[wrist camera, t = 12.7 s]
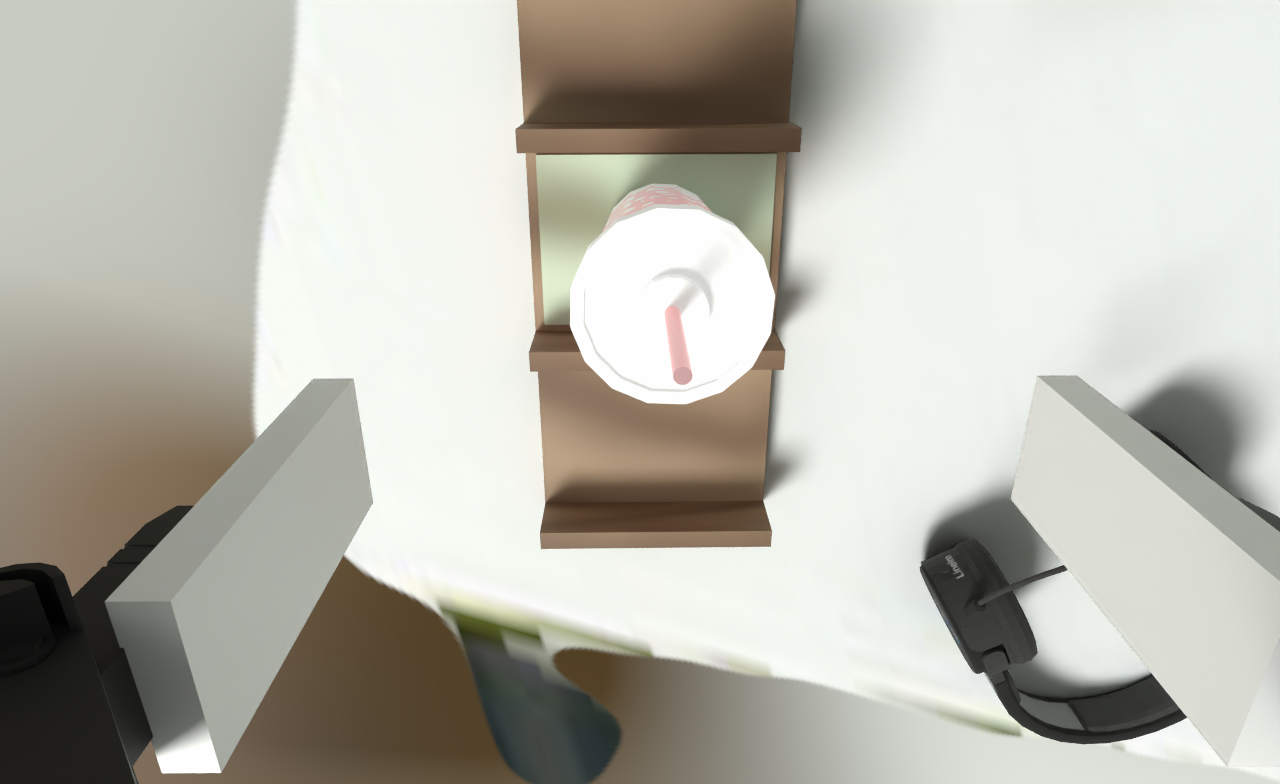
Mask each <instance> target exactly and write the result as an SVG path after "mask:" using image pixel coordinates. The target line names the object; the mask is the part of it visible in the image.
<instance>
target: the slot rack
mask: <svg viewBox="0 0 1280 784" xmlns="http://www.w3.org/2000/svg"><path fill="white" fill-rule="evenodd" d="M796 4H797V0H517V8H518V26H519V43H520V61H521V79H522V96H523V114H524V123H523V124H522V125H521V126H519V127H518V128H517V129H516V146H517V153H526V167H527V185H528V202H529V220H530V238H531V255H532V273H533V291H534V308H535V326H536V332H535V335H534V339H533V342H532V345H531V348H530V351H529V360H530V371H538V379H539V396H540V414H541V432H542V449H543V467H544V485H545V502H546V503H545V508H544V514H543V520H542V525H541V531H540V540H541V549H569V548H672V547H771V536H772V530H771V526H770V523H769V519H768V516H767V513H766V509H765V506H764V503H763V493H764V479H765V464H766V449H767V434H768V419H769V404H770V390H771V375H772V370H784V360H785V349H784V347H783V345H782V343H781V341H780V340H779V338H778V336H777V334H776V332H775V316H776V301H777V286H778V271H779V256H780V242H781V227H782V212H783V197H784V182H785V167H786V153H787V152H800V144H801V130H802V128H800V127H798V126H796V125H794V124H792V123H790V122H789V108H790V93H791V79H792V64H793V49H794V34H795V19H796ZM650 184H672V185H677V186H679V187H681V188H683V189H685V190H688V191H690V192H692V193H694V194H696V195H697V196H698V197H699V198H700V200H701V201H702V202H703V203H704V204H705V205H706V206H707V207H708V208H709V209H710V210H711V212H712V213H714V214H716V215H718V216H720V217H722V218H724V219H726V220H729V221H731V222H733V223H734V224H735V225H736V226H737V227H738V229H739V230H740V231H741V232H742V233H743V234H744V235H745V237H746V238H747V239H748V240H749V241H750V242H751V243H752V245H753V246H754V247H755V248H756V249H757V250H758V251H759V253H760V254H761V255H762V256H763V258H764V261H765V264H766V268H767V271H768V274H769V277H770V280H771V284H772V287H773V290H774V293H775V301H774V310H773V319H772V328H771V334H770V336H769V338H768V340H767V342H766V343H765V345H764V347H763V349H762V351H761V352H760V354H759V356H758V358H757V360H756V361H755V363H754V365H753V367H752V368H751V369H750V370H748V371H747V372H746V373H745V374H744V375H742V376H741V377H740V378H739V379H737V380H736V381H735V382H734V383H733V384H731V385H730V386H729V387H728V388H726V389H725V390H724V391H723V392H721V393H718V394H715V395H712V396H709V397H706V398H703V399H700V400H697V401H694V402H691V403H688V404H660V403H646V402H644V401H641V400H639V399H636V398H634V397H632V396H629V395H627V394H624V393H622V392H619V391H617V390H615V389H612V388H611V387H610V386H609V385H608V384H607V383H606V382H605V381H604V380H603V379H602V378H601V377H600V376H599V375H598V374H597V373H596V372H595V371H594V370H593V369H592V368H591V367H590V366H589V365H588V364H587V363H586V362H585V361H584V358H583V356H582V354H581V351H580V349H579V347H578V344H577V342H576V340H575V337H574V335H573V332H572V330H571V328H570V288H571V284H572V282H573V280H574V278H575V275H576V273H577V271H578V268H579V266H580V264H581V262H582V259H583V257H584V255H585V253H586V250H587V248H588V246H589V245H590V244H591V243H592V242H593V241H594V240H595V239H596V238H597V237H598V236H599V235H600V234H601V233H602V232H603V230H604V228H605V225H606V223H607V221H608V219H609V216H610V214H611V212H612V210H613V208H614V207H615V206H616V205H617V204H618V203H619V202H620V201H621V200H622V199H623V198H624V197H625V196H626V195H627V194H628V193H630V192H631V191H634V190H637V189H639V188H642V187H645V186H647V185H650Z"/></svg>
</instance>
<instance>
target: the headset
mask: <svg viewBox="0 0 1280 784" xmlns="http://www.w3.org/2000/svg"><path fill="white" fill-rule="evenodd" d="M1148 431H1149V430H1148ZM1149 432H1151V433H1152V434H1153V435H1155V436H1156V437H1157V438H1158V439H1160V440H1161V441H1162V442H1164V443H1165V444H1166V445H1168V446H1169V447H1170V448H1171V449H1173V450H1174V451H1175V452H1177V453H1178V454H1179V455H1181V456H1182V457H1183V458H1184V459H1186V460H1187V461H1188V462H1190V463H1191V464H1192V465H1193V466H1195V467H1196V468H1197V469H1199V470H1200V471H1201V472H1203V473H1204V474H1205V475H1206V476H1208V475H1207V474H1206V473H1205V472H1204V471H1203V470H1202V469H1201V468H1200V467H1199V466H1198V465H1197V464H1196V463H1195V462H1194V461H1192V460H1191V459H1190V458H1189V457H1188V456H1187V455H1186V454H1185V453H1184V452H1182V451H1181V450H1180V449H1179V448H1178V447H1177V446H1175V445H1174V444H1173V443H1172V442H1171V441H1169V440H1168V439H1167V438H1165V437H1164V436H1163V435H1161V434H1160V433H1158V432H1156V431H1153V430H1150V431H1149ZM1208 477H1209V476H1208ZM1209 478H1210V477H1209ZM1210 479H1211V478H1210ZM921 564H922V566H921V567H920V572H921V574H922V577H923V579H924V581H925V583H926V586H927V588H928V590H929V592H930V594H931V596H932V598H933V600H934V602H935V604H936V606H937V608H938V610H939V612H940V614H941V616H942V618H943V619H944V621H945V623H946V625H947V627H948V629H949V631H950V633H951V635H952V636H953V638H954V640H955V642H956V644H957V646H958V647H959V649H960V651H961V653H962V654H963V656H964V658H965V660H966V661H967V663H968V665H969V666H970V668H971V669H972V671H973V672H975V673H976V674H980V673H982V672H984V673H985V675H986V677H987V679H988V680H989V682H990V684H991V685H992V687H993V689H994V690H995V692H996V694H997V696H998V697H999V699H1000V701H1001V702H1002V704H1003V705H1004V707H1005V709H1006V710H1007V712H1008V713H1009V715H1010V716H1012V717H1013V718H1014V719H1015V720H1016V721H1017V722H1018V723H1019V724H1021V725H1022V726H1023V727H1025V728H1027V729H1029V730H1031V731H1033V732H1034V733H1036V734H1038V735H1040V736H1043V737H1046V738H1050V739H1053V740H1057V741H1060V742H1068V743H1077V744H1098V743H1111V742H1117V741H1122V740H1128V739H1133V738H1136V737H1140V736H1143V735H1146V734H1150V733H1153V732H1156V731H1159V730H1161V729H1163V728H1166V727H1168V726H1170V725H1173V724H1175V723H1177V722H1180V721H1182V720H1184V719H1185V718H1187V716H1186V715H1185V714H1184V713H1183V712H1182V710H1181V709H1180V708H1179V707H1178V705H1177V704H1176V703H1175V702H1174V700H1173V699H1172V698H1171V697H1170V695H1169V694H1168V693H1167V692H1166V691H1165V689H1164V688H1163V687H1162V686H1161V684H1160V683H1159V682H1158V681H1157V679H1156V678H1155V677H1154V676H1151V677H1150V678H1148V679H1146V680H1143V681H1141V682H1139V683H1137V684H1134V685H1132V686H1130V687H1128V688H1124V689H1121V690H1117V691H1114V692H1110V693H1107V694H1103V695H1096V696H1090V697H1084V698H1069V699H1057V698H1043V697H1039V696H1035V695H1032V694H1028V693H1025V692H1023V691H1021V690H1019V689H1017V688H1016V687H1015V685H1014V683H1013V680H1012V678H1011V676H1010V674H1009V672H1008V671H1007V669H1009V664H1012V663H1025V662H1027V661H1029V660H1032V659H1033V658H1034V657H1035V655H1036V654H1037V647H1036V641H1035V638H1034V635H1033V632H1032V630H1031V627H1030V625H1029V623H1028V621H1027V618H1026V616H1025V614H1024V612H1023V610H1022V608H1021V606H1020V604H1019V602H1018V600H1017V598H1016V597H1015V595H1014V593H1013V591H1012V590H1014V589H1016V588H1019V587H1021V586H1024V585H1026V584H1029V583H1032V582H1034V581H1037V580H1040V579H1043V578H1045V577H1048V576H1051V575H1054V574H1057V573H1061V572H1064V571H1067V570H1068V569H1067V568H1066V567H1065V566H1064V565H1063V566H1060V567H1057V568H1054V569H1051V570H1048V571H1045V572H1042V573H1040V574H1037V575H1034V576H1031V577H1029V578H1026V579H1024V580H1021V581H1019V582H1016V583H1014V584H1011V585H1009V584H1008V582H1007V581H1006V579H1005V577H1004V575H1003V574H1002V572H1001V571H1000V569H999V567H998V566H997V564H996V563H995V561H994V560H993V558H992V557H991V555H990V554H989V553H988V551H987V550H986V549H985V548H984V547H983V546H982V545H981V544H980V543H979V542H978V541H977V540H975V539H966V540H964V541H961V542H959V543H957V545H956V546H955V547H954V548H952V549H950V550H947V551H945V552H942V553H940V554H938V555H936V556H934V557H931V558H929V559H927V560H925V561H922V562H921ZM1008 663H1009V664H1008Z"/></svg>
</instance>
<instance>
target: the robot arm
mask: <svg viewBox="0 0 1280 784" xmlns="http://www.w3.org/2000/svg"><path fill="white" fill-rule="evenodd" d="M1011 500H1012V501H1013V503H1014V504H1015V505H1016V506H1017V508H1018V509H1019V510H1020V511H1021V512H1022V514H1023V515H1024V516H1025V517H1026V519H1027V520H1028V521H1029V522H1030V524H1031V525H1032V526H1033V527H1034V529H1035V530H1036V531H1037V532H1038V534H1039V535H1040V536H1041V537H1042V538H1043V540H1044V541H1045V542H1046V543H1047V545H1048V546H1049V547H1050V548H1051V550H1052V551H1053V552H1054V553H1055V555H1056V556H1057V557H1058V558H1059V559H1060V561H1061V562H1062V563H1063V564H1064V566H1065V567H1066V568H1067V569H1068V571H1069V572H1070V573H1071V574H1072V576H1073V577H1074V578H1075V579H1076V580H1077V582H1078V583H1079V584H1080V585H1081V587H1082V588H1083V589H1084V590H1085V592H1086V593H1087V594H1088V595H1089V597H1090V598H1091V599H1092V600H1093V602H1094V603H1095V604H1096V605H1097V606H1098V608H1099V609H1100V610H1101V611H1102V613H1103V614H1104V615H1105V616H1106V618H1107V619H1108V620H1109V621H1110V623H1111V624H1112V625H1113V626H1114V627H1115V629H1116V630H1117V631H1118V632H1119V634H1120V635H1121V636H1122V637H1123V639H1124V640H1125V641H1126V642H1127V644H1128V645H1129V646H1130V647H1131V648H1132V650H1133V651H1134V652H1135V653H1136V655H1137V656H1138V657H1139V658H1140V660H1141V661H1142V662H1143V663H1144V665H1145V666H1146V667H1147V668H1148V669H1149V671H1150V672H1151V673H1152V674H1153V676H1154V677H1155V678H1156V679H1157V681H1158V682H1159V683H1160V684H1161V686H1162V687H1163V688H1164V689H1165V691H1166V692H1167V693H1168V694H1169V695H1170V697H1171V698H1172V699H1173V700H1174V702H1175V703H1176V704H1177V705H1178V707H1179V708H1180V709H1181V710H1182V712H1183V713H1184V714H1185V715H1186V716H1187V718H1188V719H1189V720H1190V721H1191V723H1192V724H1193V725H1194V726H1195V728H1196V729H1197V730H1198V731H1199V733H1200V734H1201V735H1202V736H1203V737H1204V739H1205V740H1206V741H1207V742H1208V744H1209V745H1210V746H1211V747H1212V749H1213V750H1214V751H1215V752H1216V754H1217V755H1218V756H1219V757H1220V759H1221V760H1222V761H1223V762H1224V763H1225V765H1226V766H1227V767H1266V766H1280V518H1279V517H1278V516H1276V515H1274V514H1272V513H1270V512H1268V511H1266V510H1264V509H1262V508H1259V507H1257V506H1255V505H1253V504H1251V503H1249V502H1247V501H1245V500H1243V499H1236V498H1235V497H1234V496H1232V495H1231V494H1230V493H1228V492H1227V491H1226V490H1225V489H1223V488H1222V487H1221V486H1219V485H1218V484H1217V483H1216V482H1214V481H1213V480H1212V479H1210V478H1209V477H1208V476H1206V475H1205V474H1204V473H1203V472H1201V471H1200V470H1199V469H1197V468H1196V467H1195V466H1193V465H1192V464H1191V463H1190V462H1188V461H1187V460H1186V459H1184V458H1183V457H1182V456H1181V455H1179V454H1178V453H1177V452H1175V451H1174V450H1173V449H1171V448H1170V447H1169V446H1168V445H1166V444H1165V443H1164V442H1162V441H1161V440H1160V439H1158V438H1157V437H1156V436H1155V435H1153V434H1152V433H1151V432H1149V431H1148V430H1147V429H1145V428H1144V427H1143V426H1142V425H1140V424H1139V423H1138V422H1136V421H1135V420H1134V419H1133V418H1131V417H1130V416H1129V415H1127V414H1126V413H1125V412H1123V411H1122V410H1121V409H1120V408H1118V407H1117V406H1116V405H1114V404H1113V403H1112V402H1110V401H1109V400H1108V399H1107V398H1105V397H1104V396H1103V395H1101V394H1100V393H1099V392H1098V391H1096V390H1095V389H1094V388H1092V387H1091V386H1090V385H1088V384H1087V383H1086V382H1085V381H1083V380H1082V379H1081V378H1079V377H1078V376H1037V379H1036V384H1035V389H1034V393H1033V398H1032V403H1031V407H1030V412H1029V417H1028V421H1027V426H1026V431H1025V435H1024V440H1023V445H1022V449H1021V454H1020V459H1019V463H1018V468H1017V473H1016V477H1015V482H1014V487H1013V491H1012V496H1011ZM372 503H373V499H372V493H371V487H370V480H369V474H368V468H367V461H366V455H365V449H364V443H363V436H362V430H361V424H360V417H359V411H358V405H357V398H356V392H355V386H354V380H353V379H313V380H312V381H311V382H310V383H309V384H308V385H307V386H306V387H305V388H304V389H303V390H302V391H301V392H300V394H299V395H298V396H297V397H296V398H295V399H294V400H293V401H292V402H291V403H290V404H289V405H288V406H287V407H286V408H285V410H284V411H283V412H282V413H281V414H280V415H279V416H278V417H277V418H276V419H275V420H274V421H273V422H272V423H271V424H270V426H269V427H268V428H267V429H266V430H265V431H264V432H263V433H262V434H261V435H260V436H259V437H258V438H257V439H256V441H255V442H254V443H253V444H252V445H251V446H250V447H249V448H248V449H247V450H246V451H245V452H244V453H243V455H241V457H240V458H239V459H238V460H237V461H236V462H235V463H234V464H233V465H232V466H231V467H230V468H229V469H228V470H227V472H226V473H225V474H224V475H223V476H222V477H221V478H220V479H219V480H218V481H217V482H216V483H215V484H214V485H213V486H212V488H211V489H210V490H209V491H208V492H207V493H206V494H205V495H204V496H203V497H202V498H201V499H200V500H199V501H198V502H197V503H196V505H195V506H176V507H174V508H172V509H171V510H169V511H167V512H165V513H164V514H162V515H160V516H159V517H157V518H155V519H153V520H152V521H150V522H148V523H147V524H145V525H144V526H143V527H142V528H141V529H140V530H139V531H138V532H137V533H136V534H135V535H134V536H133V537H132V538H131V539H130V540H129V541H128V542H127V543H126V544H125V548H124V549H120V550H119V551H118V552H117V553H116V554H115V555H114V556H113V557H112V558H111V559H110V560H109V561H108V562H107V567H102V568H101V569H100V570H99V571H98V572H97V573H96V574H95V575H94V576H93V577H92V578H91V579H90V580H89V581H88V582H87V583H86V584H85V585H84V586H83V587H82V588H81V589H80V590H79V591H78V592H77V593H76V594H75V595H74V596H73V597H72V595H71V592H70V589H69V586H68V583H67V581H66V578H65V575H64V574H63V572H62V571H61V570H59V568H57V566H54V565H49V564H44V563H28V564H27V563H25V564H15V565H11V566H7V567H2V568H0V784H138V781H137V778H136V775H135V772H134V770H133V765H134V764H135V762H136V761H137V759H138V758H139V756H140V755H141V754H142V752H143V751H144V749H145V748H146V746H147V745H148V743H149V742H150V740H151V742H152V745H153V747H154V751H155V754H156V757H157V760H158V762H159V766H160V769H161V771H162V773H221V772H222V770H223V768H224V767H225V765H226V763H227V761H228V759H229V758H230V756H231V754H232V752H233V751H234V749H235V747H236V745H237V744H238V742H239V740H240V738H241V736H242V735H243V733H244V731H245V729H246V727H247V726H248V724H249V722H250V720H251V719H252V717H253V715H254V713H255V711H256V710H257V708H258V706H259V704H260V703H261V701H262V699H263V697H264V695H265V694H266V692H267V690H268V688H269V686H270V685H271V683H272V681H273V679H274V678H275V676H276V674H277V672H278V671H279V669H280V667H281V665H282V663H283V662H284V660H285V658H286V656H287V654H288V653H289V651H290V649H291V647H292V645H293V644H294V642H295V640H296V638H297V637H298V635H299V633H300V631H301V630H302V627H303V626H304V624H305V622H306V621H307V619H308V617H309V615H310V614H311V612H312V610H313V608H314V606H315V605H316V603H317V601H318V599H319V597H320V596H321V594H322V592H323V590H324V589H325V587H326V585H327V583H328V581H329V580H330V578H331V576H332V574H333V573H334V571H335V569H336V567H337V565H338V564H339V562H340V560H341V558H342V557H343V555H344V553H345V551H346V549H347V548H348V546H349V544H350V542H351V541H352V539H353V537H354V535H355V533H356V532H357V530H358V528H359V526H360V525H361V523H362V521H363V519H364V517H365V516H366V514H367V512H368V510H369V508H370V507H371V505H372Z"/></svg>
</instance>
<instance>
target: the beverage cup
mask: <svg viewBox="0 0 1280 784" xmlns="http://www.w3.org/2000/svg"><path fill="white" fill-rule="evenodd" d="M774 301H775V293H774V290H773V287H772V284H771V280H770V277H769V274H768V271H767V268H766V264H765V261H764V258H763V256H762V255H761V254H760V253H759V251H758V250H757V249H756V248H755V247H754V246H753V245H752V243H751V242H750V241H749V240H748V239H747V238H746V237H745V235H744V234H743V233H742V232H741V231H740V230H739V229H738V227H737V226H736V225H735V224H734V223H733V222H731V221H729V220H726V219H724V218H722V217H720V216H718V215H716V214H714V213H712V212H711V210H710V209H709V208H708V207H707V206H706V205H705V204H704V203H703V202H702V201H701V200H700V198H699V197H698V196H697V195H696V194H694V193H692V192H690V191H688V190H685V189H683V188H681V187H679V186H677V185H672V184H650V185H647V186H645V187H642V188H639V189H637V190H634V191H631V192H630V193H628V194H627V195H626V196H625V197H624V198H623V199H622V200H621V201H620V202H619V203H618V204H617V205H616V206H615V207H614V208H613V210H612V212H611V214H610V216H609V219H608V221H607V223H606V225H605V228H604V230H603V232H602V233H601V234H600V235H599V236H598V237H597V238H596V239H595V240H594V241H593V242H592V243H591V244H590V245H589V246H588V248H587V250H586V253H585V255H584V257H583V259H582V262H581V264H580V266H579V268H578V271H577V273H576V275H575V278H574V280H573V282H572V284H571V288H570V328H571V330H572V332H573V335H574V337H575V340H576V342H577V344H578V347H579V349H580V351H581V354H582V356H583V358H584V361H585V362H586V363H587V364H588V365H589V366H590V367H591V368H592V369H593V370H594V371H595V372H596V373H597V374H598V375H599V376H600V377H601V378H602V379H603V380H604V381H605V382H606V383H607V384H608V385H609V386H610V387H611V388H612V389H615V390H617V391H619V392H622V393H624V394H627V395H629V396H632V397H634V398H636V399H639V400H641V401H644V402H646V403H660V404H688V403H691V402H694V401H697V400H700V399H703V398H706V397H709V396H712V395H715V394H718V393H721V392H723V391H724V390H725V389H726V388H728V387H729V386H730V385H731V384H733V383H734V382H735V381H736V380H737V379H739V378H740V377H741V376H742V375H744V374H745V373H746V372H747V371H748V370H750V369H751V368H752V367H753V365H754V363H755V361H756V360H757V358H758V356H759V354H760V352H761V351H762V349H763V347H764V345H765V343H766V342H767V340H768V338H769V336H770V334H771V328H772V319H773V310H774Z"/></svg>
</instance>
